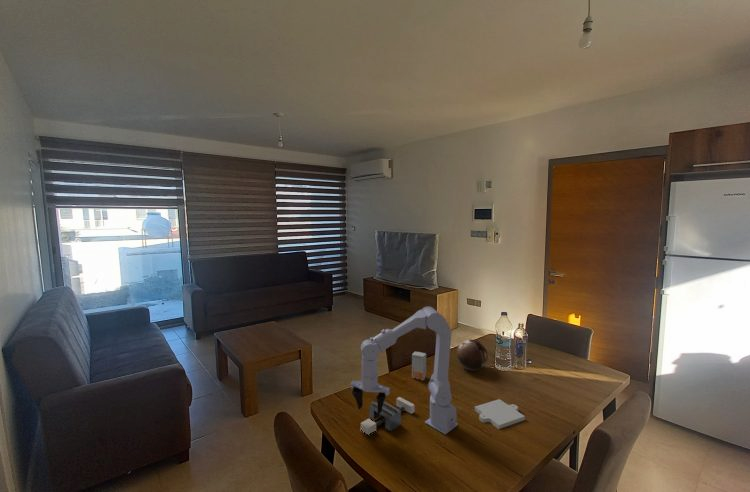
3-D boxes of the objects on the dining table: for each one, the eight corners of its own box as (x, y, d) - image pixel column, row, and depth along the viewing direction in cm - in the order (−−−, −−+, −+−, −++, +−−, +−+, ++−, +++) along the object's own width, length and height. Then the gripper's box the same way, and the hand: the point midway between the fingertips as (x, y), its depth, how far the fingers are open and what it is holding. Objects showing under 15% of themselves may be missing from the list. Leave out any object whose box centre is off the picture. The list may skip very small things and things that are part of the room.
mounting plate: (493, 432, 120) (493, 427, 120) (469, 412, 132) (469, 408, 131) (529, 419, 127) (529, 414, 127) (503, 402, 139) (504, 397, 139)
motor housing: (401, 424, 124) (400, 408, 123) (389, 431, 120) (389, 415, 119) (380, 412, 132) (380, 397, 131) (369, 418, 128) (369, 403, 127)
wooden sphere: (451, 365, 173) (451, 337, 172) (475, 360, 177) (476, 333, 176) (467, 378, 159) (467, 348, 157) (493, 373, 163) (494, 343, 162)
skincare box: (411, 378, 159) (411, 354, 158) (414, 374, 163) (414, 351, 162) (423, 381, 157) (423, 356, 155) (426, 377, 160) (426, 353, 159)
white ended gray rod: (414, 411, 132) (414, 404, 131) (369, 440, 115) (369, 432, 115) (399, 403, 137) (399, 396, 137) (354, 429, 121) (354, 422, 121)
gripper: (392, 372, 120) (392, 408, 121) (356, 366, 125) (356, 400, 127) (385, 381, 113) (385, 418, 115) (347, 374, 119) (348, 410, 120)
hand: (370, 409), depth 120 cm, fingers open, 7 cm apart
